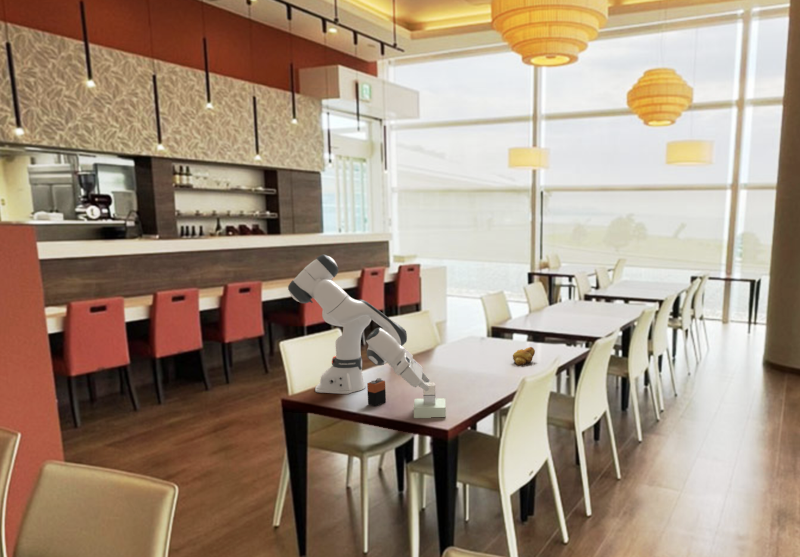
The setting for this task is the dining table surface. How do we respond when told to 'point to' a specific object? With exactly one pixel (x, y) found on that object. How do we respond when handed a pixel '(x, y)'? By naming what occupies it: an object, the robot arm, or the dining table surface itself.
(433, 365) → the dining table surface
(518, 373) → the dining table surface
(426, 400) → the block
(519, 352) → the bread roll
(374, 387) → the battery
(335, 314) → the robot arm
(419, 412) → the stand
